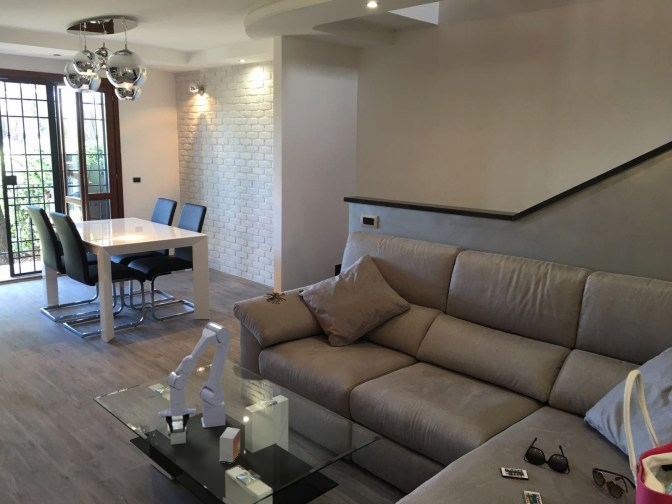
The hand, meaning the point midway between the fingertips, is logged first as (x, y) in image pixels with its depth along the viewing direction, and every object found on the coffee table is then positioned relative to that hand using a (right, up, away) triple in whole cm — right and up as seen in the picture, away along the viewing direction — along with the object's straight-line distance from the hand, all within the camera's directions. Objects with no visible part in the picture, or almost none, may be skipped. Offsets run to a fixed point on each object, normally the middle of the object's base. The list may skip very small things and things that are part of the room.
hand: (177, 431), depth 230 cm
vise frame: (-1, -2, +3) cm, 4 cm away
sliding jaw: (-3, 0, +9) cm, 9 cm away
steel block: (0, -2, 0) cm, 2 cm away
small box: (+24, -7, -12) cm, 27 cm away
